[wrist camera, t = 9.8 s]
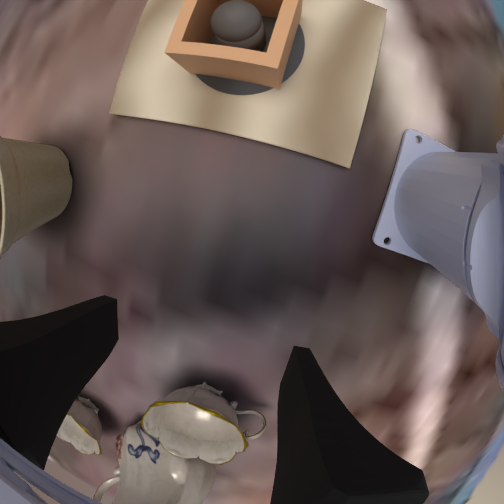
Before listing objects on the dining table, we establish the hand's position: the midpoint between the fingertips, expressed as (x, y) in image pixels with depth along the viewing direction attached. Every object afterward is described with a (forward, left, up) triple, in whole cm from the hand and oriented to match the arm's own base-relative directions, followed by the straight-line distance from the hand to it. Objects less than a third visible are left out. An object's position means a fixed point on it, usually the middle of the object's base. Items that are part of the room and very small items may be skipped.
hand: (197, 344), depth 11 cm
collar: (+3, -14, -8) cm, 17 cm away
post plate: (+3, -14, -9) cm, 17 cm away
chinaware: (+4, +21, -10) cm, 24 cm away
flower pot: (+17, -2, -10) cm, 20 cm away
